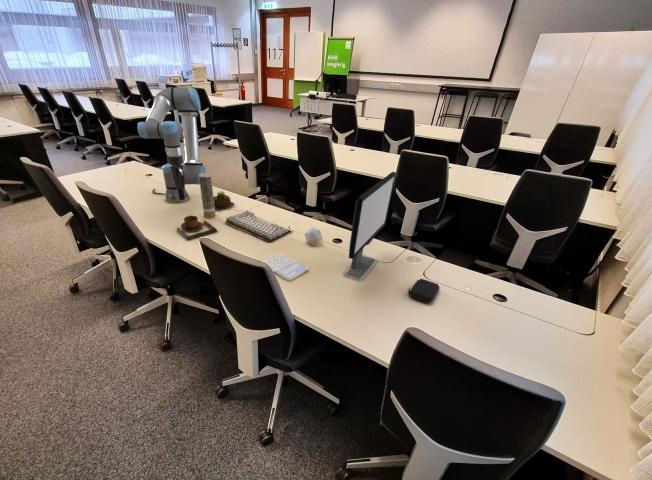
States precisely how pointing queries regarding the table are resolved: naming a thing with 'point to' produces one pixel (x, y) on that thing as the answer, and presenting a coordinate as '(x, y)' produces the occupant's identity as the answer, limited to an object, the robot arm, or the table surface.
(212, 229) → the bay
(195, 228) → the cup and saucer
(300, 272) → the calculator
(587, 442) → the table surface
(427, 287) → the carrying case
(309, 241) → the die
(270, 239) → the mechanical keyboard
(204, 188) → the bark textured cylinder
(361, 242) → the computer monitor
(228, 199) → the dark brown mound
